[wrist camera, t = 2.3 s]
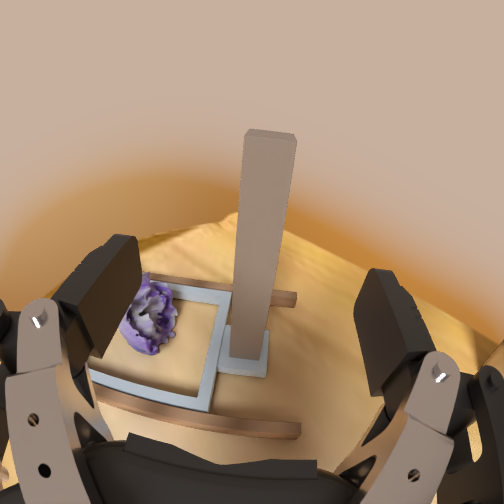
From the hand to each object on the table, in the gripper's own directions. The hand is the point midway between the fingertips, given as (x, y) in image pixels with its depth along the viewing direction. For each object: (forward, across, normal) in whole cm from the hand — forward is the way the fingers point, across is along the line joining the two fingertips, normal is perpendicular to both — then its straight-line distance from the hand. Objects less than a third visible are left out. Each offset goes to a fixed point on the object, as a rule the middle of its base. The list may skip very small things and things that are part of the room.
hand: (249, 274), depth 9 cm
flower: (+11, +12, +21) cm, 27 cm away
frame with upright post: (+12, +8, +20) cm, 25 cm away
